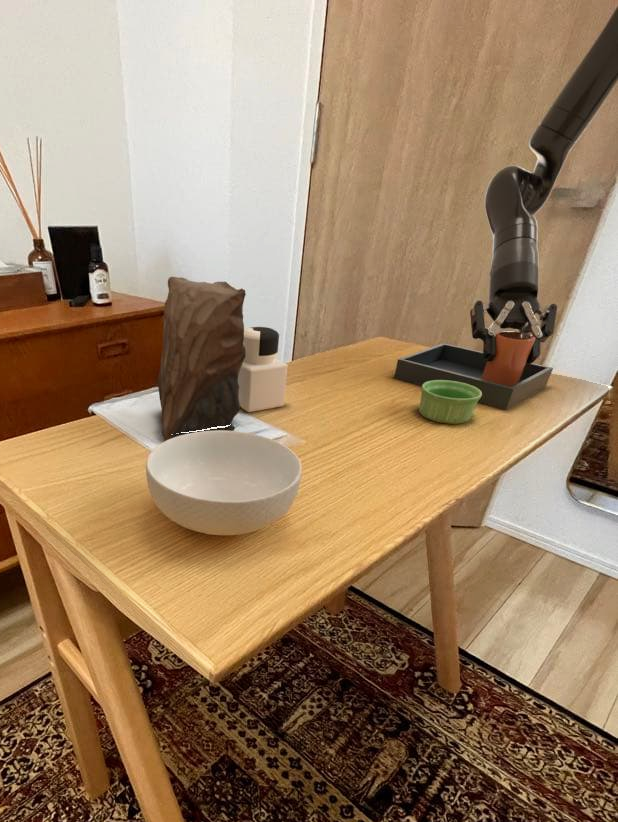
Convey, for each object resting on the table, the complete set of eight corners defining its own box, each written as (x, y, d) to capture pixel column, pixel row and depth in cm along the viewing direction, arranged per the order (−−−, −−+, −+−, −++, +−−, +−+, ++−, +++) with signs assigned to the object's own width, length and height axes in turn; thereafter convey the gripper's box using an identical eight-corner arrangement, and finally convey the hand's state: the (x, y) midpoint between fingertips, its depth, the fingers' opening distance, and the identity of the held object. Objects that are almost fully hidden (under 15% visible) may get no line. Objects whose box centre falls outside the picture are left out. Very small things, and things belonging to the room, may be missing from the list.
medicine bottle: (263, 393, 89) (268, 322, 82) (284, 406, 84) (291, 332, 76) (228, 399, 86) (230, 326, 79) (247, 413, 81) (252, 337, 74)
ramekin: (482, 415, 81) (491, 389, 79) (458, 431, 76) (468, 403, 74) (430, 400, 86) (437, 375, 84) (405, 414, 81) (412, 388, 79)
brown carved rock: (159, 409, 82) (151, 274, 70) (234, 407, 83) (239, 274, 71) (160, 441, 72) (152, 291, 60) (245, 438, 73) (253, 290, 61)
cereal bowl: (326, 528, 55) (336, 472, 51) (199, 581, 47) (198, 521, 43) (238, 466, 66) (240, 417, 62) (125, 501, 59) (119, 448, 55)
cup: (488, 378, 94) (505, 329, 89) (521, 387, 91) (541, 336, 85) (473, 385, 91) (490, 334, 86) (507, 395, 87) (527, 342, 82)
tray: (438, 360, 106) (443, 343, 104) (545, 387, 93) (553, 367, 91) (393, 377, 96) (397, 359, 94) (505, 410, 83) (513, 389, 81)
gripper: (481, 258, 86) (477, 346, 84) (569, 260, 84) (567, 351, 82) (463, 286, 93) (460, 368, 91) (544, 289, 92) (542, 373, 89)
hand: (511, 359), depth 86 cm, fingers closed on cup, 6 cm apart
